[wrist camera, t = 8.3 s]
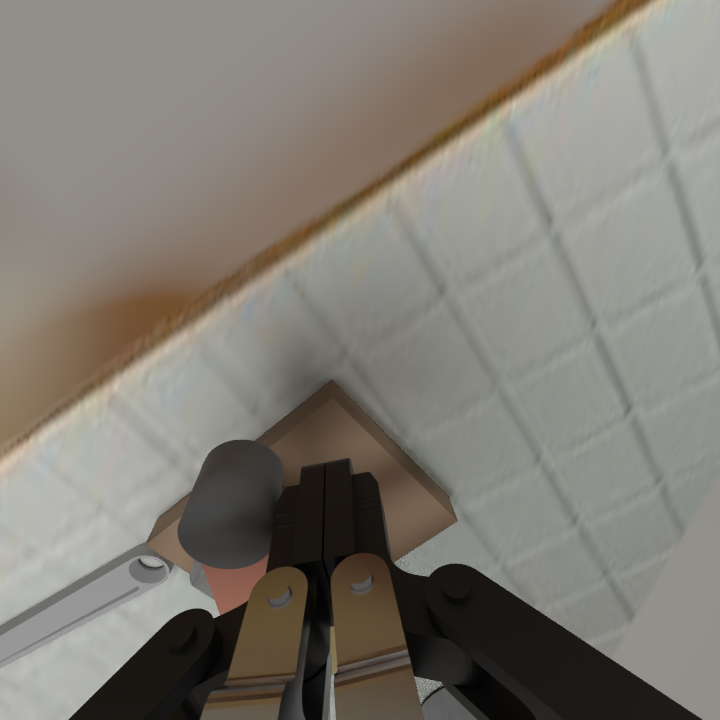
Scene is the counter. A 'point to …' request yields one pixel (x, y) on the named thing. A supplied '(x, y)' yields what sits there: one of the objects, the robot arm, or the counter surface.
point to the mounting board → (334, 442)
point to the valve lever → (233, 518)
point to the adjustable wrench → (81, 602)
